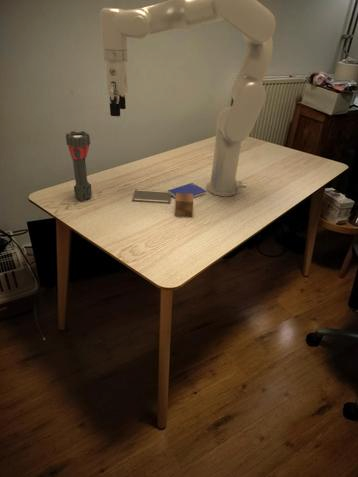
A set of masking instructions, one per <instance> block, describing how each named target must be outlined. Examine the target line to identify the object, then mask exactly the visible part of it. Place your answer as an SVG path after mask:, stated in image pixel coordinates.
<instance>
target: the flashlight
mask: <svg viewBox="0 0 358 477" xmlns="http://www.w3.org/2000/svg"><path fill="white" fill-rule="evenodd" d="M65 138H66V139H65V140H66V146H67V148H68V151H69V153H70V157H71V159H72V162H73V163H72V165H73V174H74V181H75V185H74V186H73V190H74V196H75V199H78V200H79V202H85V201H86V200H90V199H91V198H92V184H91V183H90V182H89V181H88V174H87V164H86V158H87V155H88V152H89V149H90V145H91V138H90V134H89V133H88V132H86V131H83V130H81V131H78V132H77V131H76V130H75V131H70V133H68V132H66V134H65Z"/></svg>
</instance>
